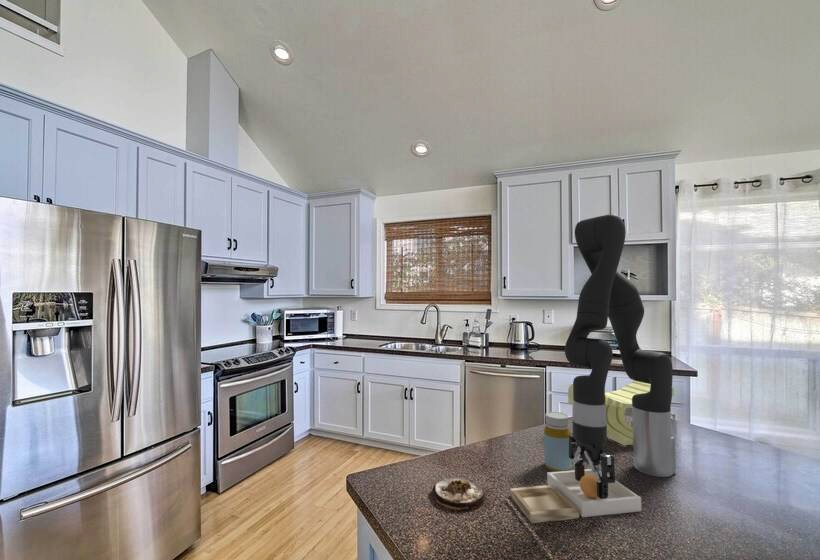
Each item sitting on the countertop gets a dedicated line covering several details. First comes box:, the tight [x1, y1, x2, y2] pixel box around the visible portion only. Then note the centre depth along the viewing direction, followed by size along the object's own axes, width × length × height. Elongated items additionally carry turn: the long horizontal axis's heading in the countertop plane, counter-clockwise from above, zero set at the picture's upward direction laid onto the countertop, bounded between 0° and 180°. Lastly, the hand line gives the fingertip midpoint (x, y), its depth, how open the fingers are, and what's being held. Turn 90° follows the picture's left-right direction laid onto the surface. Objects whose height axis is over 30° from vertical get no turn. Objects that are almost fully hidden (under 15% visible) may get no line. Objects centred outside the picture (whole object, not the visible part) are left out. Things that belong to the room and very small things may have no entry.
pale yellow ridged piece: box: [567, 380, 675, 445], centre depth 131 cm, size 30×16×18 cm, turn 105°
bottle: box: [543, 411, 572, 472], centre depth 106 cm, size 7×7×15 cm
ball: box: [580, 474, 597, 498], centre depth 90 cm, size 5×5×5 cm
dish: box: [546, 468, 642, 518], centre depth 90 cm, size 15×15×4 cm
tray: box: [509, 484, 580, 524], centre depth 86 cm, size 11×11×2 cm
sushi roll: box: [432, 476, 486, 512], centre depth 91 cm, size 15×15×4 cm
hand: (590, 488), depth 90 cm, fingers open, 8 cm apart
